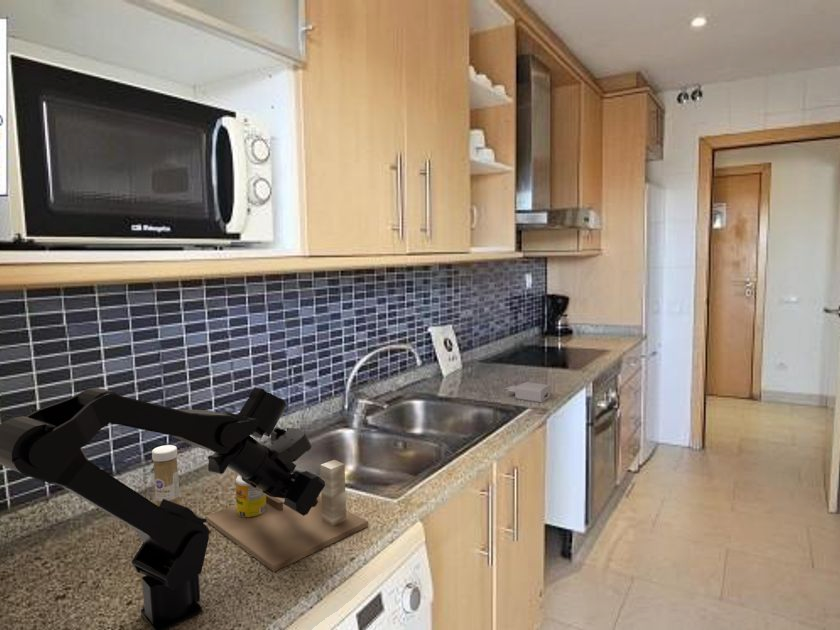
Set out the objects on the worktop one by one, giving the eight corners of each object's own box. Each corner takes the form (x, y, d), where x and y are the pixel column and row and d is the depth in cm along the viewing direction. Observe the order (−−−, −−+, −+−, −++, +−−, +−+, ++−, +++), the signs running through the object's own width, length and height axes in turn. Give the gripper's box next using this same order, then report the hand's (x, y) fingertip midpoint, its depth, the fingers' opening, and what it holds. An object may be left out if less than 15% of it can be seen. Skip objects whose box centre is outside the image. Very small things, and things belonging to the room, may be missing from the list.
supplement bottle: (235, 513, 108) (233, 463, 107) (263, 507, 111) (262, 459, 110) (238, 525, 103) (237, 473, 102) (268, 519, 106) (267, 468, 105)
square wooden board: (273, 571, 88) (270, 501, 87) (205, 520, 105) (201, 461, 104) (367, 526, 102) (366, 465, 101) (294, 487, 120) (291, 435, 118)
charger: (511, 391, 199) (550, 397, 191) (500, 397, 191) (540, 403, 183) (511, 379, 198) (550, 384, 190) (500, 384, 191) (541, 389, 182)
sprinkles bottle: (152, 518, 107) (147, 452, 105) (163, 507, 111) (158, 444, 110) (175, 517, 107) (170, 452, 105) (185, 507, 111) (180, 443, 110)
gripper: (312, 430, 86) (367, 475, 96) (253, 408, 99) (306, 450, 108) (271, 494, 82) (333, 535, 91) (214, 462, 95) (273, 501, 104)
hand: (311, 501), depth 99 cm, fingers open, 3 cm apart
